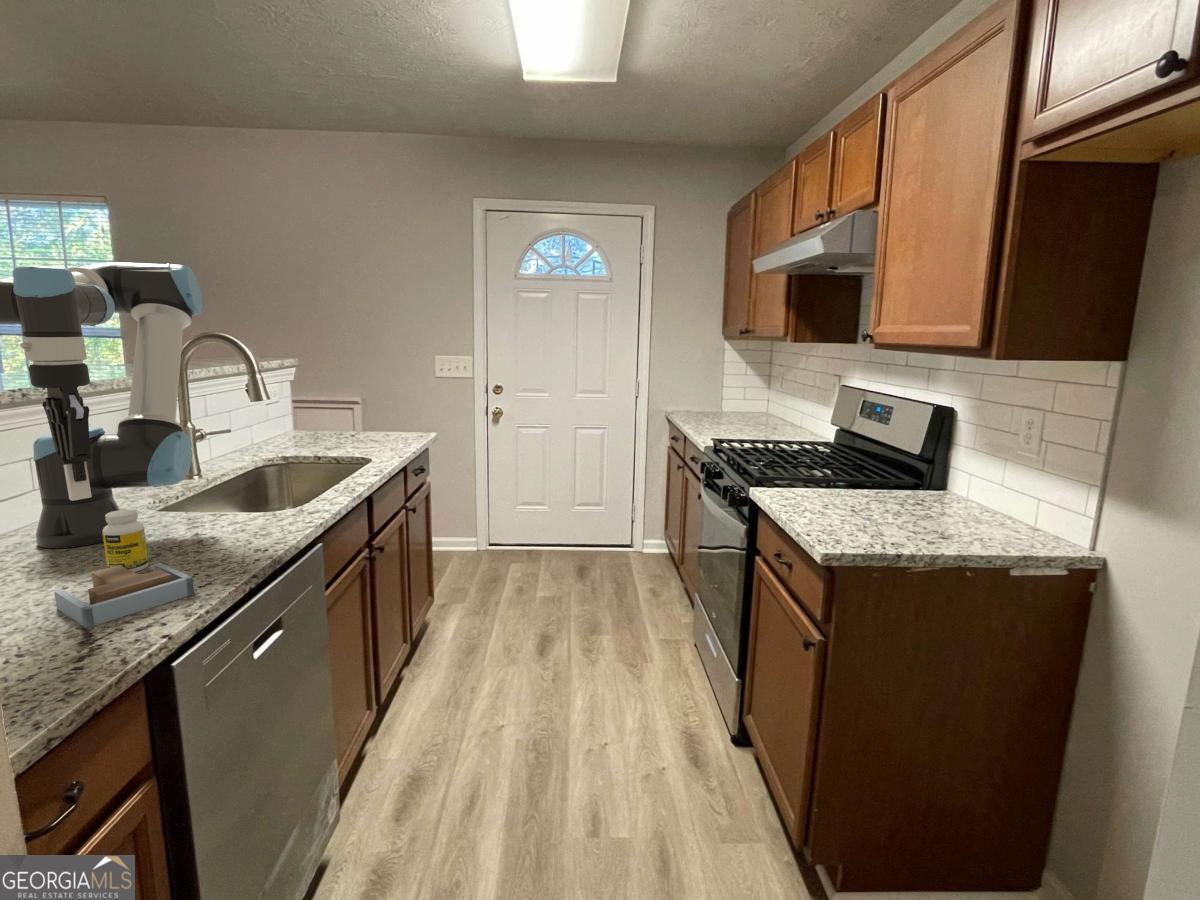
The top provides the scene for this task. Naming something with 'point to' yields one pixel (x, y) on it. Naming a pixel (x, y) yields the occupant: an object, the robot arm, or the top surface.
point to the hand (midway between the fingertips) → (80, 498)
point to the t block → (122, 582)
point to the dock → (126, 600)
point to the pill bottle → (125, 541)
